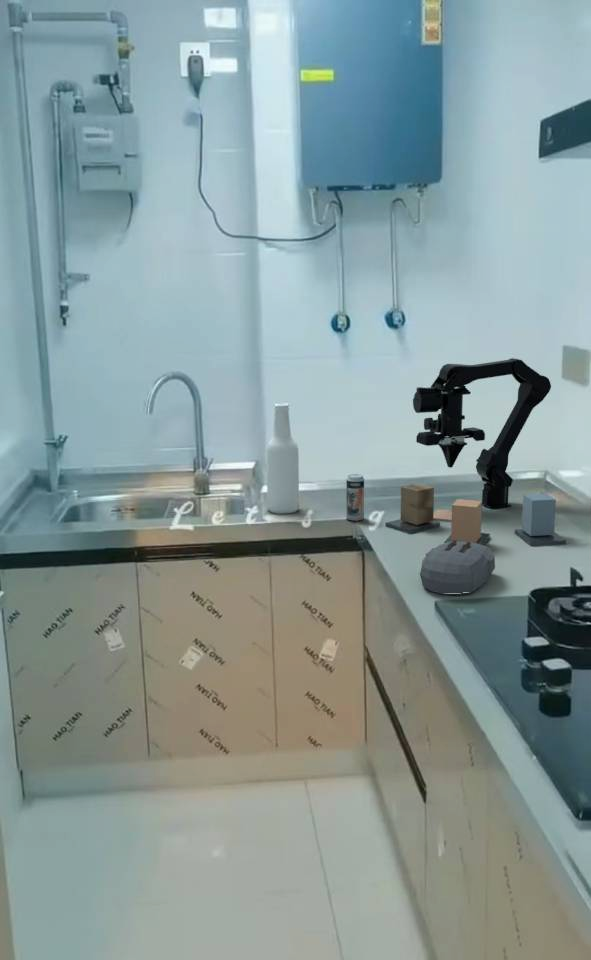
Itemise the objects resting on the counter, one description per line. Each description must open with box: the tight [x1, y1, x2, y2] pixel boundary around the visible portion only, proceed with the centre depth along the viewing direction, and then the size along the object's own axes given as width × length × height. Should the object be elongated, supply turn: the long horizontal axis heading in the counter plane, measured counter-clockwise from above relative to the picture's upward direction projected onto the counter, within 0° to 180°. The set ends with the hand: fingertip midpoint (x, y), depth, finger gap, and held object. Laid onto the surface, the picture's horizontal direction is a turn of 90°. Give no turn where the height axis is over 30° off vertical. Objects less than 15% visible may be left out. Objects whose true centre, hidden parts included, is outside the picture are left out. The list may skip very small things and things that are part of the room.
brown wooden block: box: [400, 482, 435, 525], centre depth 245 cm, size 6×6×9 cm
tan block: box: [450, 498, 483, 543], centre depth 229 cm, size 6×6×9 cm
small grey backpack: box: [419, 541, 496, 594], centre depth 202 cm, size 15×8×20 cm
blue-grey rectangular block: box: [521, 493, 557, 536], centre depth 233 cm, size 6×6×9 cm
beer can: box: [345, 473, 365, 522], centre depth 251 cm, size 5×5×12 cm
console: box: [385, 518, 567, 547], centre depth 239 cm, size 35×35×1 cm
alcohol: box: [265, 402, 300, 515], centre depth 259 cm, size 9×9×30 cm
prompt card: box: [433, 509, 452, 523], centre depth 253 cm, size 9×9×1 cm
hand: (450, 467), depth 258 cm, fingers closed
